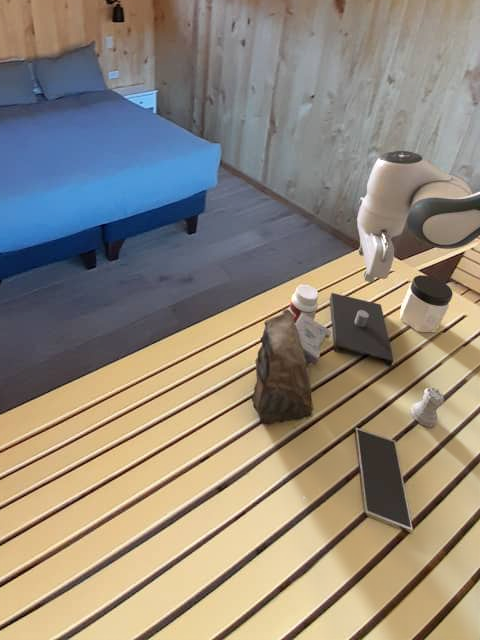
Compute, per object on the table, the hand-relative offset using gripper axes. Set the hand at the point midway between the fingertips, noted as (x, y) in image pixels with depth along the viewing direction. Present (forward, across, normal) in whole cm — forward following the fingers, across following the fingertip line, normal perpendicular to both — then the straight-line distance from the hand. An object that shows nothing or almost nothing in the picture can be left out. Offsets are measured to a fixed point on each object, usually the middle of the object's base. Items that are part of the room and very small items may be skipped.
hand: (365, 266), depth 96 cm
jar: (+20, +8, -18) cm, 28 cm away
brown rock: (+20, -28, +15) cm, 38 cm away
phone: (+20, -36, -3) cm, 41 cm away
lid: (+20, -1, -3) cm, 20 cm away
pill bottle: (+20, -4, +11) cm, 23 cm away
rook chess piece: (+20, -20, -12) cm, 31 cm away
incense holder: (+20, -16, +11) cm, 28 cm away
